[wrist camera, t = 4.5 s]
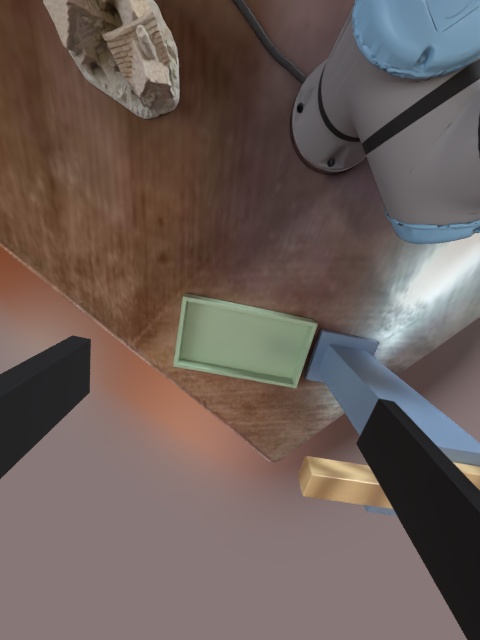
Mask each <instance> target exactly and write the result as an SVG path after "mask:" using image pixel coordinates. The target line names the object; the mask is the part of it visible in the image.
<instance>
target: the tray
mask: <svg viewBox="0 0 480 640" xmlns="http://www.w3.org/2000/svg"><path fill="white" fill-rule="evenodd" d="M317 325H318V324H317V323H316V322H315V321H314V320H313V319H309V318H304V317H299V316H294V315H290V314H285V313H280V312H275V311H270V310H265V309H260V308H255V307H251V306H246V305H241V304H236V303H231V302H226V301H221V300H216V299H212V298H207V297H202V296H197V295H192V294H187V293H186V294H185V295H184V296H183V300H182V307H181V314H180V321H179V328H178V335H177V342H176V349H175V356H174V363H173V366H174V367H180V368H186V369H191V370H197V371H202V372H208V373H214V374H219V375H225V376H230V377H236V378H241V379H247V380H253V381H258V382H264V383H269V384H275V385H281V386H286V387H292V388H297V385H298V382H299V379H300V376H301V373H302V370H303V367H304V364H305V361H306V358H307V355H308V352H309V349H310V346H311V343H312V340H313V337H314V334H315V331H316V328H317Z"/></svg>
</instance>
